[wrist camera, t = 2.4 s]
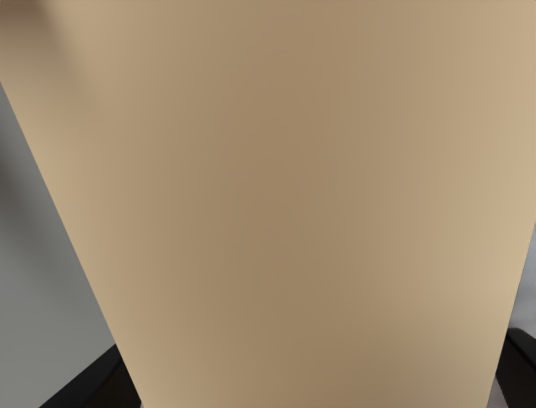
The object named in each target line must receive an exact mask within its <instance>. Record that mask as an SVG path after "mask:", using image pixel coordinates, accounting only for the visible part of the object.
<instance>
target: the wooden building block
mask: <svg viewBox="0 0 536 408" xmlns="http://www.w3.org/2000/svg"><path fill="white" fill-rule="evenodd" d="M0 82H1V84H2V86H3V88H4V91H5V93H6V95H7V97H8V100H9V102H10V104H11V107H12V109H13V111H14V113H15V116H16V118H17V120H18V122H19V125H20V127H21V129H22V131H23V134H24V136H25V138H26V141H27V143H28V145H29V147H30V150H31V152H32V154H33V156H34V159H35V161H36V163H37V165H38V168H39V170H40V172H41V175H42V177H43V179H44V181H45V184H46V186H47V188H48V190H49V193H50V195H51V197H52V199H53V202H54V204H55V206H56V209H57V211H58V213H59V215H60V218H61V220H62V222H63V224H64V227H65V229H66V231H67V234H68V236H69V238H70V240H71V243H72V245H73V247H74V249H75V252H76V254H77V256H78V258H79V261H80V263H81V265H82V268H83V270H84V272H85V274H86V277H87V279H88V281H89V283H90V286H91V288H92V290H93V292H94V295H95V297H96V299H97V302H98V304H99V306H100V308H101V311H102V313H103V315H104V317H105V320H106V322H107V324H108V327H109V329H110V331H111V333H112V336H113V338H114V340H115V342H116V345H117V347H118V349H119V351H120V354H121V356H122V358H123V361H124V363H125V365H126V367H127V370H128V372H129V374H130V376H131V379H132V381H133V383H134V385H135V388H136V390H137V392H138V395H139V397H140V399H141V401H142V404H143V406H144V408H486V407H487V403H488V399H489V395H490V392H491V388H492V384H493V380H494V377H495V373H496V369H497V365H498V362H499V358H500V354H501V350H502V347H503V343H504V339H505V335H506V332H507V328H508V324H509V320H510V316H511V313H512V309H513V305H514V301H515V298H516V294H517V290H518V286H519V283H520V279H521V275H522V271H523V268H524V264H525V260H526V256H527V253H528V249H529V245H530V241H531V237H532V234H533V230H534V226H535V222H536V0H0Z"/></svg>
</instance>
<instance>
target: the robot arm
mask: <svg viewBox="0 0 536 408" xmlns="http://www.w3.org/2000/svg"><path fill="white" fill-rule="evenodd" d="M495 375H496V378H497V380H498V383H499V385H500V388H501V390H502V393H503V395H504V398H505V400H506V403H507V405H508V408H536V339H535V338H533V337H532V336H530V335H529V334H527V333H526V332H524V331H523V330H521V329H519V328H507V332H506V335H505V339H504V343H503V347H502V350H501V354H500V358H499V362H498V365H497V369H496V373H495ZM141 403H142V401H141V399H140V397H139V395H138V392H137V390H136V388H135V385H134V383H133V381H132V379H131V376H130V374H129V372H128V370H127V367H126V365H125V363H124V361H123V358H122V356H121V354H120V351H119V349H118V347H117V345H116V343H115V344H114V345H113V346H112V347H110V348H109V349H108V350H107V351H106V352H104V353H103V354H102V355H101V356H100V357H98V358H97V359H96V360H95V361H94V362H92V363H91V364H90V365H89V366H88V367H86V368H85V369H84V370H83V371H82V372H80V373H79V374H78V375H77V376H76V377H74V378H73V379H72V380H71V381H70V382H68V383H67V384H66V385H65V386H64V387H63V388H61V389H60V390H59V391H58V392H57V393H55V394H54V395H53V396H52V397H51V398H49V399H48V400H47V401H46V402H45V403H43V404H42V405H41V406H40V407H39V408H140V407H141Z"/></svg>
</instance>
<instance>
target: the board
mask: <svg viewBox="0 0 536 408" xmlns="http://www.w3.org/2000/svg"><path fill="white" fill-rule="evenodd" d="M115 343H116V342H115V340H114V338H113V336H112V333H111V331H110V329H109V327H108V324H107V322H106V320H105V317H104V315H103V313H102V311H101V308H100V306H99V304H98V302H97V299H96V297H95V295H94V292H93V290H92V288H91V286H90V283H89V281H88V279H87V277H86V274H85V272H84V270H83V268H82V265H81V263H80V261H79V258H78V256H77V254H76V252H75V249H74V247H73V245H72V243H71V240H70V238H69V236H68V234H67V231H66V229H65V227H64V224H63V222H62V220H61V218H60V215H59V213H58V211H57V209H56V206H55V204H54V202H53V199H52V197H51V195H50V193H49V190H48V188H47V186H46V184H45V181H44V179H43V177H42V175H41V172H40V170H39V168H38V165H37V163H36V161H35V159H34V156H33V154H32V152H31V150H30V147H29V145H28V143H27V141H26V138H25V136H24V134H23V131H22V129H21V127H20V125H19V122H18V120H17V118H16V116H15V113H14V111H13V109H12V107H11V104H10V102H9V100H8V97H7V95H6V93H5V91H4V88H3V86H2V84H1V82H0V408H39V407H40V406H41V405H42V404H43V403H45V402H46V401H47V400H48V399H49V398H51V397H52V396H53V395H54V394H55V393H57V392H58V391H59V390H60V389H61V388H63V387H64V386H65V385H66V384H67V383H68V382H70V381H71V380H72V379H73V378H74V377H76V376H77V375H78V374H79V373H80V372H82V371H83V370H84V369H85V368H86V367H88V366H89V365H90V364H91V363H92V362H94V361H95V360H96V359H97V358H98V357H100V356H101V355H102V354H103V353H104V352H106V351H107V350H108V349H109V348H110V347H112V346H113V345H114V344H115ZM140 408H144V406H143V404H142V403H141V407H140Z"/></svg>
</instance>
